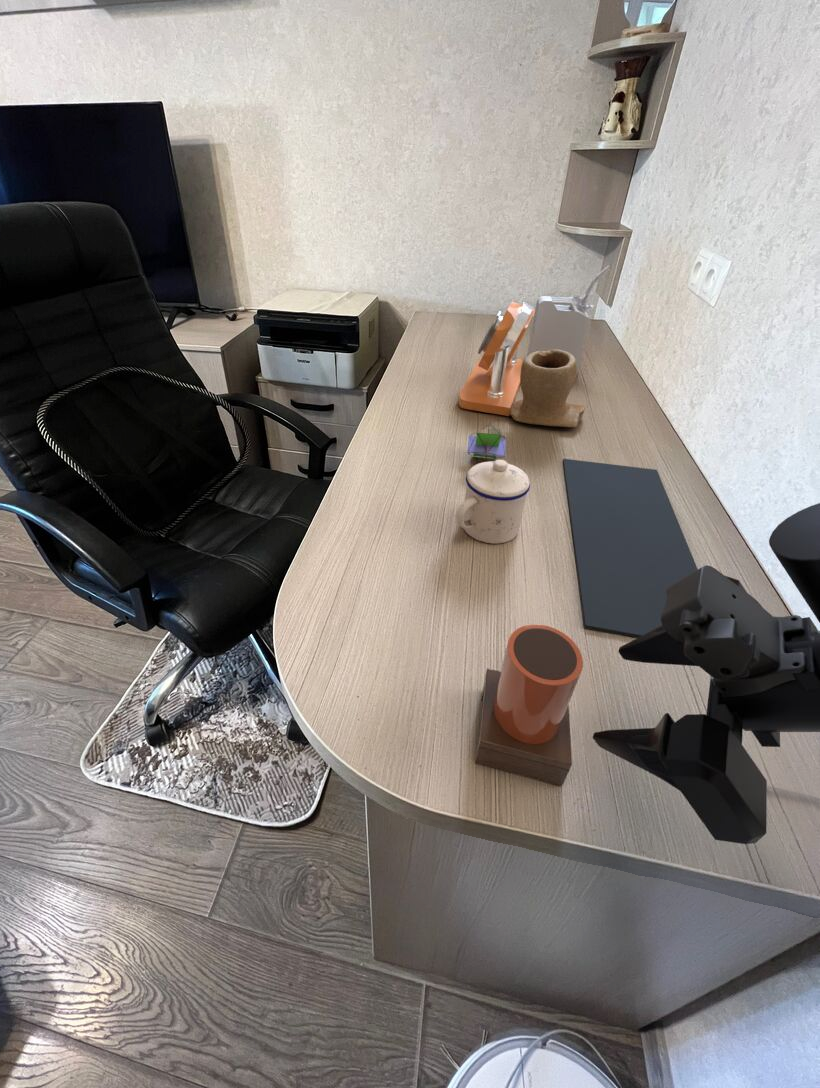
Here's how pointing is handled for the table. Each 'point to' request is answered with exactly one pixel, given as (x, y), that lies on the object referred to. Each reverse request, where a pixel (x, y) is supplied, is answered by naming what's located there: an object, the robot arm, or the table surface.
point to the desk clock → (498, 364)
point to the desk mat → (623, 545)
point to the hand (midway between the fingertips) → (609, 693)
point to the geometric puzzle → (487, 443)
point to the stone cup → (547, 390)
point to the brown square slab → (521, 744)
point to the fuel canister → (562, 323)
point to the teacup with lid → (493, 501)
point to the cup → (536, 683)
